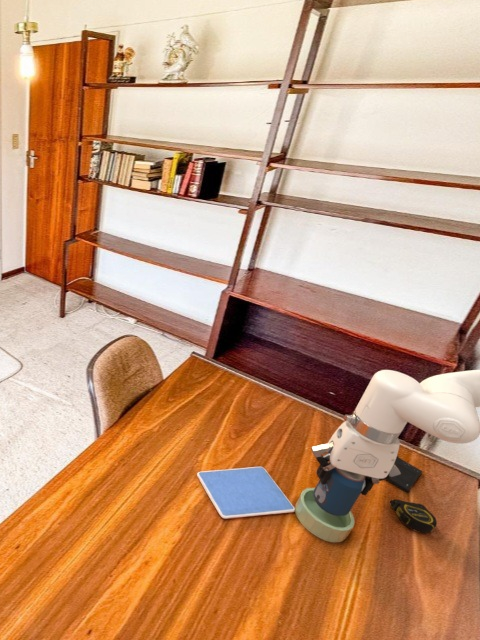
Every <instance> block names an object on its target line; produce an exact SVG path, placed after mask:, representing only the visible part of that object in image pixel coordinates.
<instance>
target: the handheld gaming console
mask: <svg viewBox="0 0 480 640" xmlns="http://www.w3.org/2000/svg"><path fill="white" fill-rule="evenodd" d="M394 465H395V466H396V467H397V468H398V469H399V471H400V473H401V474H400V475H397V476H393V477H390V478H389V479H386V480H385V481H387V482H389V483H391V484H392V485H393V486H395V487H397V488H398V489H400V490H402V491H403V492H405V493H408V492H409V491H410V490H411V488H412V487H413V485H414V484H415V483H416V482H417V480H418V479H419V477H420V476H421V474H422V473H423V471H422V470H421V469H419V468H418V467H417V466H415V465H413V464H411V463H409V462H408V461H406V460H404V459H402V458H400V457H399V455H398V454H397V457H396V460H395V462H394Z"/></svg>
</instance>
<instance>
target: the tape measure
mask: <svg viewBox="0 0 480 640" xmlns="http://www.w3.org/2000/svg"><path fill="white" fill-rule="evenodd" d="M389 504H390V508H391V510H392V511H393V512H395V514H396V517H397V519H398V520H399V521H400V522H401V523H402V524H404V525H405V526H406V527H407V528H409V529H411V530H413V531H415V532H418V533H421V534H430V533H432V532H433V531H434V530H435V528H436V526H437V525H438V521H437V519H436V517H435V515H434V514H433V513H432V512H431V511H430V510H428V508H427V507H426V506H425V505H424V504H421V503H417V502H411V501H405V500H401V499H395V498H393V499H390V500H389Z"/></svg>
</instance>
